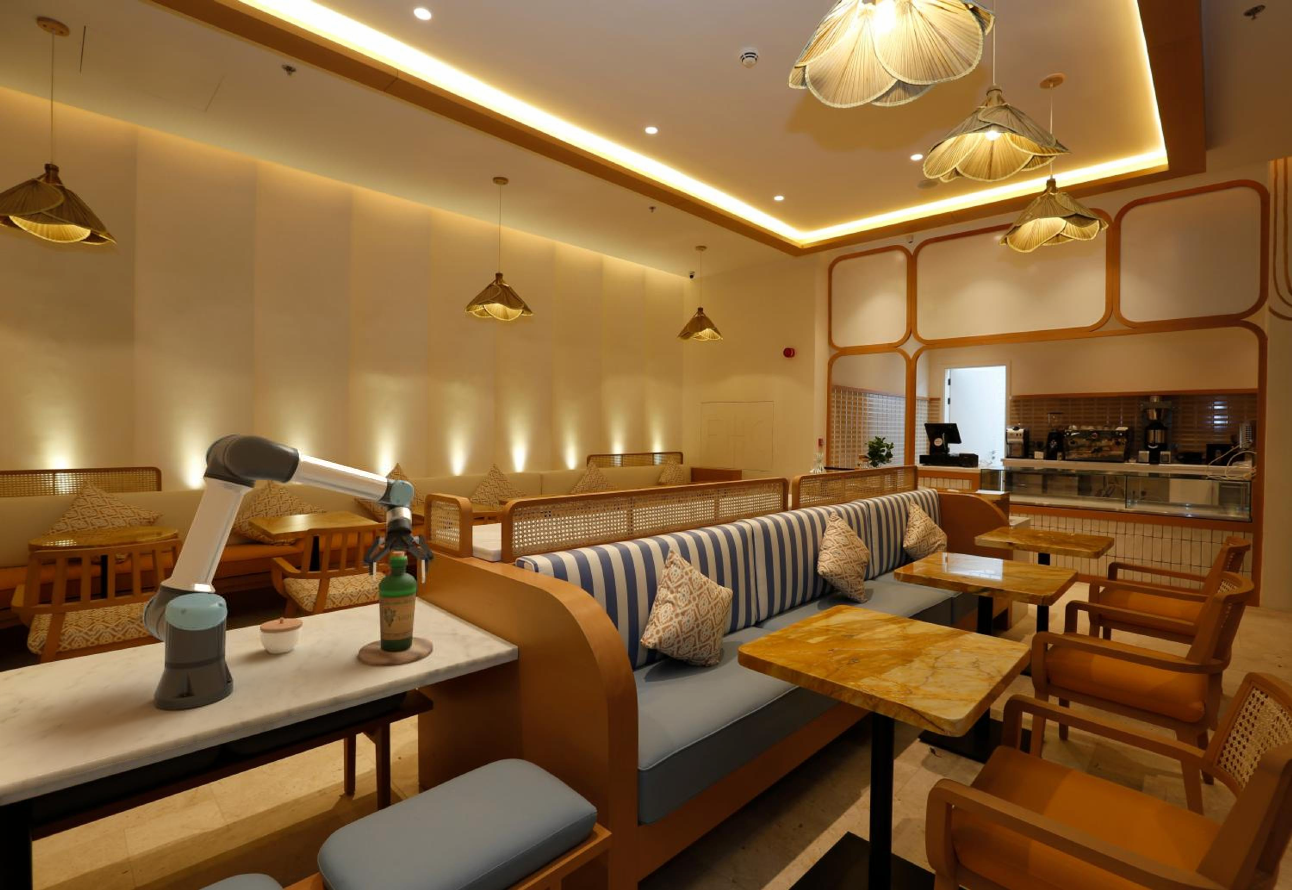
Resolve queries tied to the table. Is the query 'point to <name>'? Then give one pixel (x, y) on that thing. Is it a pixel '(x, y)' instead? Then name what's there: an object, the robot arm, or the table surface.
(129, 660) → the table surface
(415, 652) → the serving board
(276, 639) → the lidded jar
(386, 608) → the bottle
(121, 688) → the table surface
